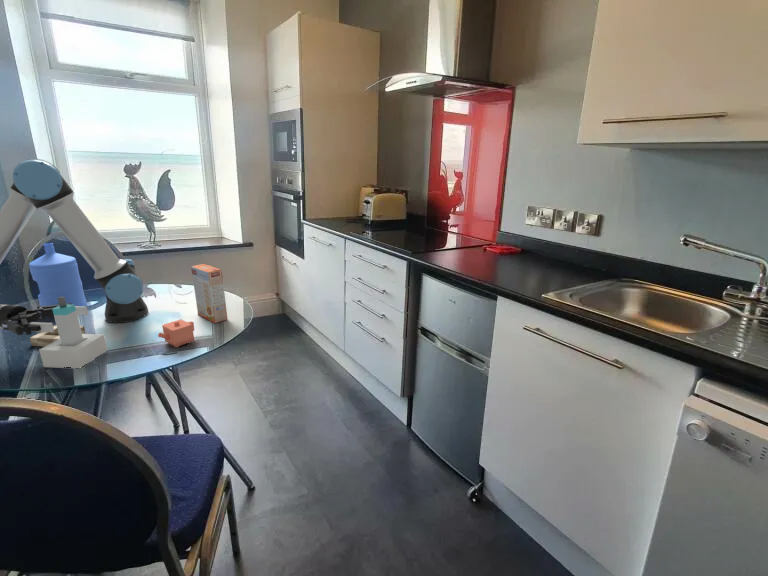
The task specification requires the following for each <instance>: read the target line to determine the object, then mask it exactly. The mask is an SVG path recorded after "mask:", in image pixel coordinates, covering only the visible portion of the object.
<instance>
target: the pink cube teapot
mask: <svg viewBox="0 0 768 576" xmlns="http://www.w3.org/2000/svg"><path fill="white" fill-rule="evenodd" d="M194 324H195V323H194V321H192V320H191V321H186V320H183V319H182V318H181V319H177V320H174V321H171V322H168V323H167V322H166V323H164V324H162V326H161V328H162V332H158V335H157V336H158V338H162V339H164V341H165V342H166V343H168V344H169V345H170V344H171V346H172V347H174V348H175V347H178V346H180V347H181V346H183V345H187V344H186V343H189V342H191V343H192V342H194V341H196V340H195V335H194V332H195V325H194ZM178 348H179V347H178Z"/></svg>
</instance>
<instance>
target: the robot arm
mask: <svg viewBox="0 0 768 576" xmlns="http://www.w3.org/2000/svg"><path fill="white" fill-rule="evenodd" d="M12 180H13V181H12V182H13V183H12V185H11V186H10V187H9V190H10V192H11V193H10V195H9V197H8V198H7V199H6V201H5V202H4V204H3V206H2V207H1V209H0V265H1V264H2V262H3V261H4V259H5V258H6V256H7V254H8V253H9V251H10V250H11V248H12V246H13V245H14V244H15V242H16V241H17V239H18V238H19V236H20V234H21V233H22V231H23V230H24V228H25V227H26V225H27V223H28V222H29V220H30V219H31V217H32V216H33V214H34V213H35V211H36V209H37V210H40V211H43V212H46V213H47V214H48V216H49V217H50V218H51V220H52V221H53V222H54V223H55V225H56V226H57V227H58V229H60V231H61V232H62V233H63V235H64V236H65V237H66V238H67V240H69V242H71V244H72V245H73V246H74V248H75V249H76V250H77V251H78V252H79V254H80V255H81V256H82V258H83V259H84V260H85V261H86V262H87V264H88V265H89V267H91V268H92V270H93V271H94V275H93V278H94V280H95V281H96V282H97V283H98V285H99V286H100V287H101V288H102V290H103V291H104V295H105V298H106V303H105V308H104V318H105V321H106V322H109V323H126V322H125V321H127V322H132V321H135V319H136V320H139V319H141V318H140V317H142V318H144V317H145V316H147V315H148V314H149V309H148V305H147V304H146V302H145V300H144V299H143V297H142V294H143V292H144V283H143V280H142V279H141V278H140V277H139V275H138V274H137V272H136V264H135V262H134V260H133V259H129V258H127V259H122V258H119V257H118V255H116V253H115V252H114V251H113V249H112V248H111V247H110V245H109V244H108V243H107V242H106V240H105V239H104V237H103V236H102V235H101V233H100V232H99V230H97V228H96V227H95V226H94V224H92V221H91V220H89V217H88V216H86V214H85V213H84V211H83V210H82V209H81V208H80V206H79V205H78V204H77V203H76V201H75V200H74V194H75V192H74V191H73V188H72V187H71V186H70V185H69V184H68V183H67V181H66V180H65V179H64V177H63V176H62V175H61V173H60V171H59V169H58V168H57V167H56V166H55V165H54V164H52V163H51V162H49V161H47V160H44V159H40V158H31V159H30V158H29V159H26V160H23V161H21V162H20V163H18V164H17V165H16V166H15V167H14V169H13V172H12ZM67 304H69V305H72V303H67ZM58 306H59V305H50V306H40V305H38V306H37V307H36V308H35V309H33V308H30V309H29V308H28V309H27V308H26V307H25V306H23V305H19V304H0V330H4V331H5V330H6V331H10V332H12V333H13V334H16V335H18V336H22V335H23V334H24V333H25V335H26V336H29V335H32V332H34V333H35V332H37V333H38V332H39V333H41V332H54V328H53V326H54V325H53V322H40V321H41V320H45V319H46V318H49V317H54V314H53V310H52V309H53V308H55V307H58ZM75 308H76V312H77V316H88V315H89V311H88V307H87V306H86V305H85V306H75ZM147 313H148V314H147ZM146 314H147V315H146ZM144 315H145V316H144ZM143 316H144V317H143ZM138 318H139V319H138ZM131 320H132V321H131ZM36 321H39V322H36Z"/></svg>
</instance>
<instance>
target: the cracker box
mask: <svg viewBox="0 0 768 576" xmlns="http://www.w3.org/2000/svg"><path fill="white" fill-rule="evenodd" d="M190 268H191V275H192V280H193V281H192V282H193V289H194V294H195V296H194V297H195V303H196V310H197V315H198V316H199V317H202V318H204V319H206V321H209V322H211V323H213V324H217V323H220V322H224V321H227V320H228V313H227V305H226V304H227V303H226V296H225V295H226V294H225V288H224V279H223V270H222V269H220V268H218V267H214V266H212V265H209V264H205V263H200V264H196V265H192V266H190Z"/></svg>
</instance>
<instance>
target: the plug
mask: <svg viewBox="0 0 768 576" xmlns="http://www.w3.org/2000/svg"><path fill="white" fill-rule="evenodd" d="M58 302H59V306H58V307H55V308H53V309H52V310H53V314H54V316H53V317H54V322H55V325H57V329H58V333H59V336H60V340H61V344H62V346H76V345H78V344H79V343H81V342H83V341H84V340H83V336H82V332H81V328H80V326H81V325H80V321H79V318H78V317H79V315H77V312H76V308H75V305H69V304H66V300H65V297H59V298H58Z"/></svg>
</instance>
